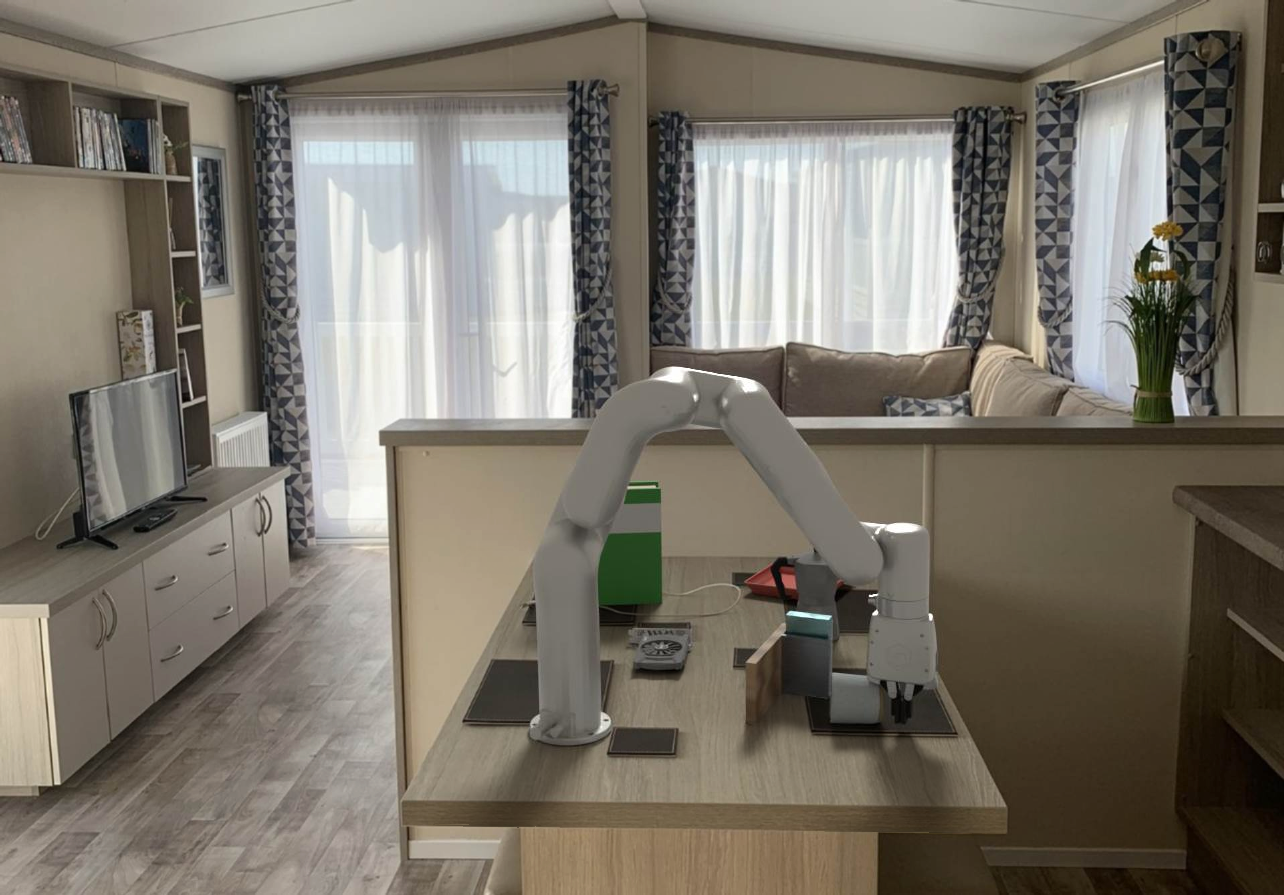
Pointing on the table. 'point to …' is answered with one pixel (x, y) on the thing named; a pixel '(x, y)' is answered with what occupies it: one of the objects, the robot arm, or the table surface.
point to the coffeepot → (810, 585)
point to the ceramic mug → (855, 699)
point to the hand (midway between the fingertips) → (901, 720)
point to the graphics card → (661, 648)
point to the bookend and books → (807, 654)
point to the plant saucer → (766, 583)
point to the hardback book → (633, 550)
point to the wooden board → (764, 677)
